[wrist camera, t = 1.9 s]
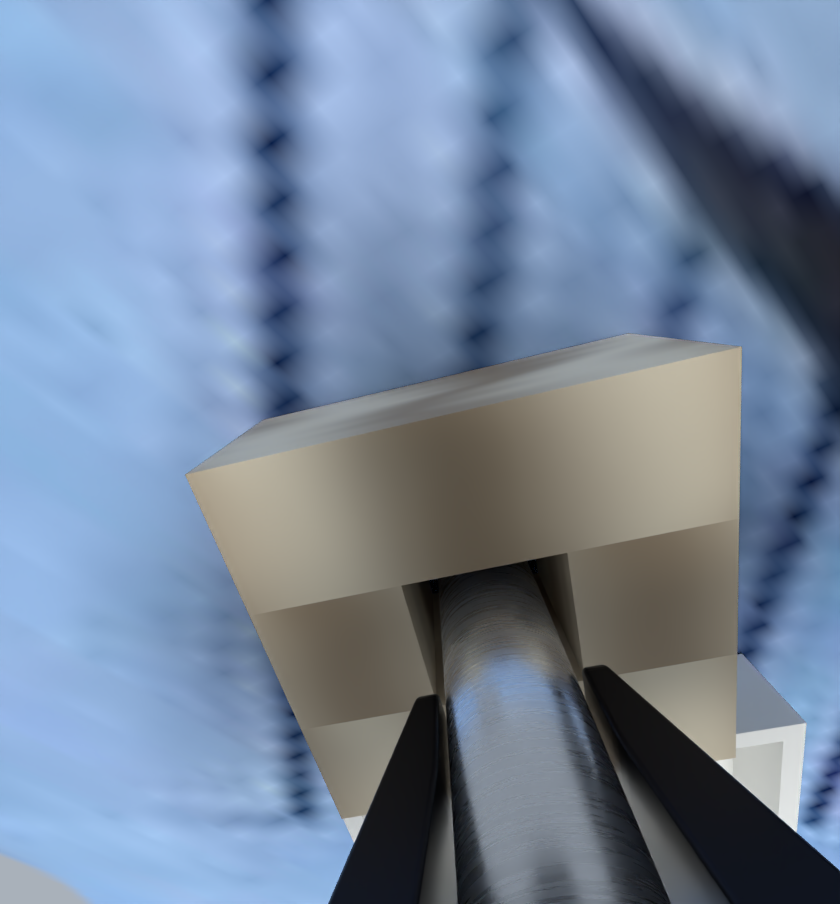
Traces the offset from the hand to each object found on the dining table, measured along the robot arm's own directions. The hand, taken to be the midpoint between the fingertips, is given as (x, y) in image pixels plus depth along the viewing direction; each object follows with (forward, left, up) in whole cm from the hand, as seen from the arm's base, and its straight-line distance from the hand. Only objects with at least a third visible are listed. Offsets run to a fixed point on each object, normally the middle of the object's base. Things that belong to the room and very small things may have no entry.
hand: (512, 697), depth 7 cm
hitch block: (0, 0, -6) cm, 6 cm away
